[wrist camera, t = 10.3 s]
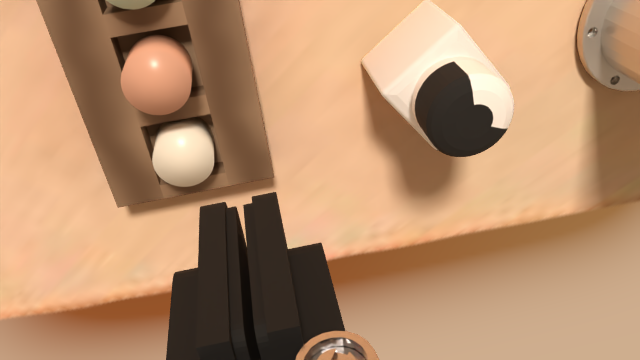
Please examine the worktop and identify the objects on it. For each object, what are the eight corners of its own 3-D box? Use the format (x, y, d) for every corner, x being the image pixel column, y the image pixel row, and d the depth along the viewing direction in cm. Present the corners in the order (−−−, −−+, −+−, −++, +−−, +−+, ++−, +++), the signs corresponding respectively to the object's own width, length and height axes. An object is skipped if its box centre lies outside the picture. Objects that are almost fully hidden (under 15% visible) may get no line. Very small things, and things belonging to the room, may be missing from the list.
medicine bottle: (410, 114, 49) (462, 187, 39) (358, 60, 46) (399, 125, 36) (475, 57, 48) (546, 118, 37) (426, -4, 44) (489, 45, 34)
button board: (214, -120, 38) (215, -117, 36) (271, 161, 50) (274, 177, 47) (15, -89, 37) (3, -84, 35) (121, 190, 49) (117, 207, 46)
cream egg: (206, 109, 45) (206, 129, 42) (219, 158, 48) (220, 180, 45) (149, 120, 45) (144, 140, 42) (164, 169, 47) (161, 191, 44)
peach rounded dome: (183, 29, 40) (181, 45, 37) (199, 89, 43) (198, 108, 40) (118, 41, 40) (111, 57, 37) (138, 100, 42) (132, 120, 39)
